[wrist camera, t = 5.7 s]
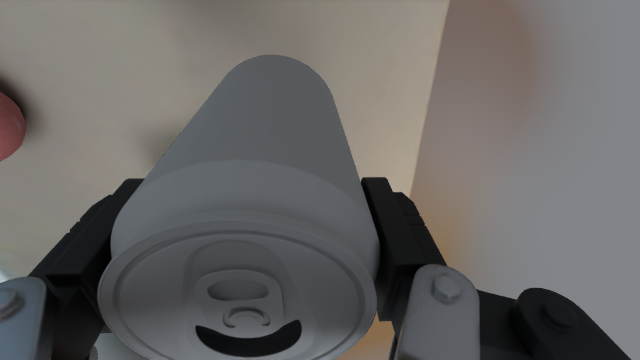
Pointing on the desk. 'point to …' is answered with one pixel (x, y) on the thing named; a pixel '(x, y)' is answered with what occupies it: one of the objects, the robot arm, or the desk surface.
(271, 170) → the beverage can
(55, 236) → the desk surface
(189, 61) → the desk surface
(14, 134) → the apple
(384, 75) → the desk surface
